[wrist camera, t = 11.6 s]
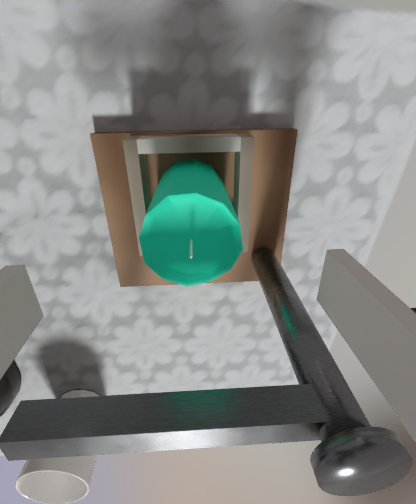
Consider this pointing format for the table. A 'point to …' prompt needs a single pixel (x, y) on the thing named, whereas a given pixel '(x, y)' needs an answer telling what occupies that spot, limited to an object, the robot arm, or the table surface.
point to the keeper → (230, 412)
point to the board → (226, 166)
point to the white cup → (58, 473)
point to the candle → (190, 226)
